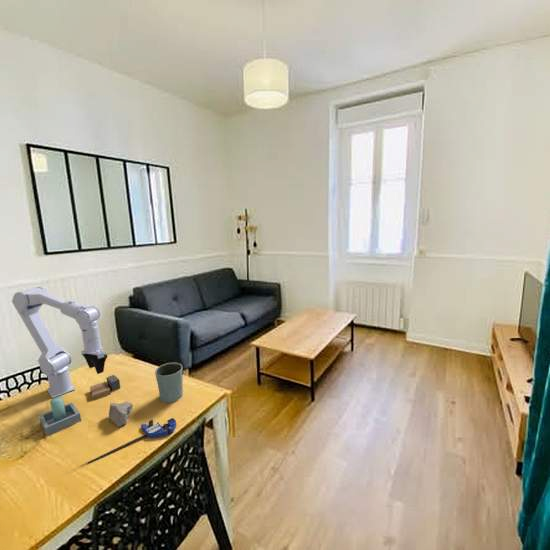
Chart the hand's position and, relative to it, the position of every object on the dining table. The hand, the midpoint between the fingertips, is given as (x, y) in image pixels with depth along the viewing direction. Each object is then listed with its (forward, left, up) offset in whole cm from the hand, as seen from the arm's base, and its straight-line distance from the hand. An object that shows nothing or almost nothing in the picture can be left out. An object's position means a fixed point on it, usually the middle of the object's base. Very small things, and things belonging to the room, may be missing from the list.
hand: (96, 369), depth 122 cm
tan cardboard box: (0, 0, -11) cm, 11 cm away
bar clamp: (+38, -5, -11) cm, 39 cm away
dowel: (+9, -16, -10) cm, 20 cm away
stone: (+23, 0, -11) cm, 26 cm away
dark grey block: (0, +5, -10) cm, 12 cm away
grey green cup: (+25, +18, -11) cm, 33 cm away
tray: (+9, -16, -10) cm, 21 cm away
